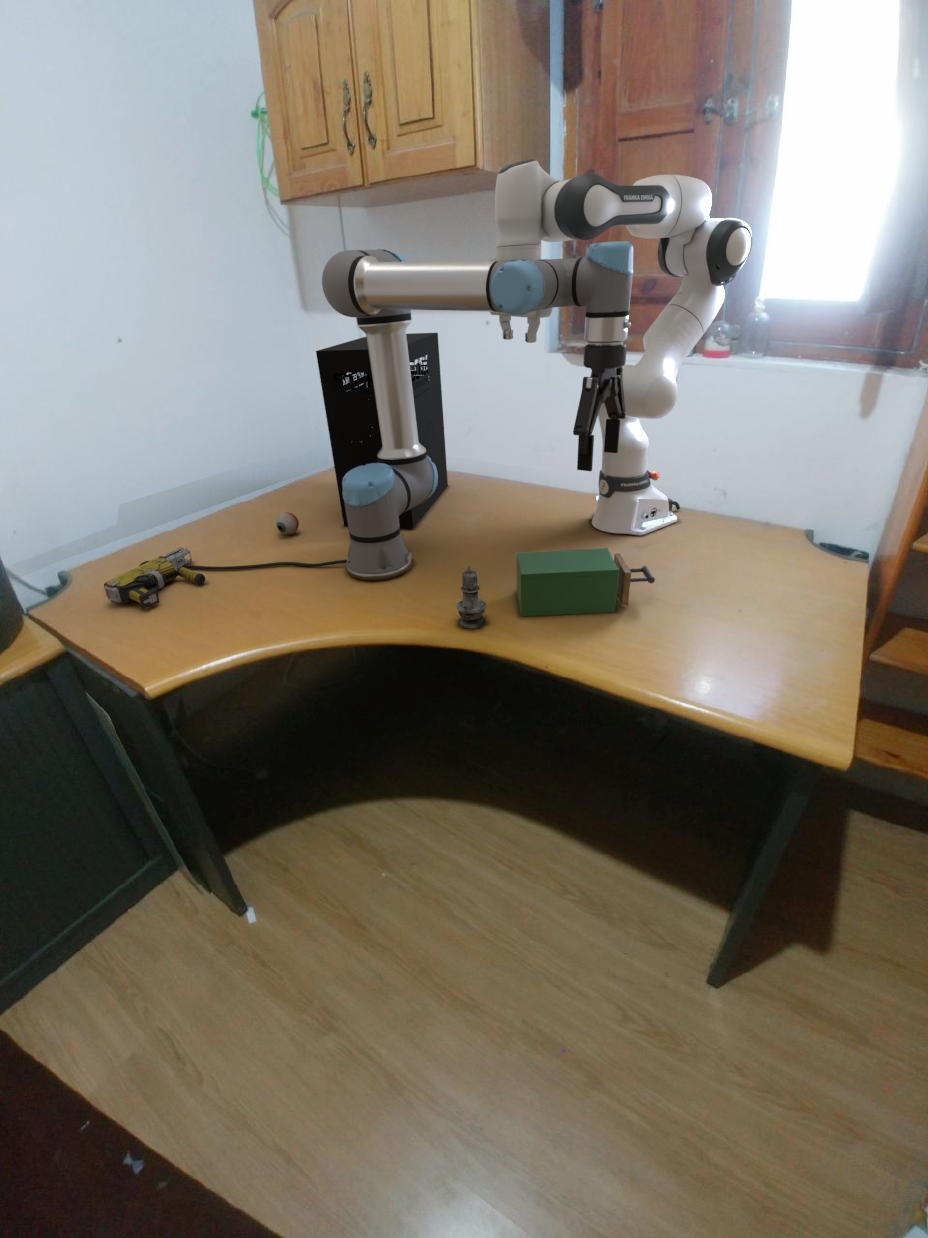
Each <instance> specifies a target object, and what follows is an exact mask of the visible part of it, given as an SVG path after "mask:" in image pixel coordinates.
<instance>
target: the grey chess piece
mask: <svg viewBox="0 0 928 1238" xmlns="http://www.w3.org/2000/svg"><path fill="white" fill-rule="evenodd" d="M461 583H462V586H461V587H460V590H461V592H462V600H459V602H457V603H456V604H455V608H456V610H457V612H458V614H459V616H460V618H459V619H458V624H459V626H460V627H462V628H464V629H478V628H480V627H482V626H484V625H485V623H486V618H485V617H484V616H483V615H484V613H485V611H486V610H485V609H486V608H487V603H486V602H485V601H484V600H482V599H480V597H479V596H480V595H479V591H480V589H481V587H480V586H479V585H478V583H479V582H478V573H477V571H475V570H473V569H472V568H471V566H469V565H468V567H467V569H466V570H464V571H463V572H462V574H461Z"/></svg>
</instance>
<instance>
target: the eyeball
mask: <svg viewBox="0 0 928 1238" xmlns="http://www.w3.org/2000/svg"><path fill="white" fill-rule="evenodd" d="M299 525H300V522H299V519H298V517H297V516H296V515H295V514H294V513H292V512H287V511H286V512H282V513H280V514H279V515H278V516H277V517H276V520H275V527H276V529H277V530H278V531H279V532H280V533H281V534H282V535H285V536H286V535H287V536H289V535H293V534H295V533H296V532H297V531H298V529H299Z"/></svg>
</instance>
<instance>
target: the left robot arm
mask: <svg viewBox="0 0 928 1238" xmlns="http://www.w3.org/2000/svg"><path fill="white" fill-rule="evenodd" d="M321 275H322V276H321V286H322V291H323V294H324V297H325V299H326V300H327V302H328V304H329V305H330V307H331V308H333V310H335V312H337V313H338V314H340V315H342V316H345V317H349V318H356V324H357V327H358V328H359V329H360V330H361V331H362V332H363V333H364V334H365V337H367V344H368V351H369V358H370V365H371V372H372V378H373V385H374V392H375V399H376V406H377V413H378V420H379V427H380V433H381V440H382V448H381V449H380V451H379V452H378V453H377V458H378V463H370V464H366V465H365V466H362V465H361V466H358V467H356V468H354V469H352V470H350V471H349V472H348V473H346V475H345V476H344V478H343V481H342V487H343V499H344V504H345V510H346V516H347V522H348V526H347V528H348V532H349V540H350V541H349V547H348V553H347V558H346V559H341V560H340V559H339V560H331V561H325V562H318V563H317V562H316V563H307V562H297V561H278V562H277V561H275V562H267V563H259V564H247V565H230V566H229V565H226V566H209V565H196V564H195V565H192V564H186V565H185V564H184V565H183V566H182V567H184V568H187V569H191V570H192V569H193V570H206V571H207V570H209V571H229V570H230V571H231V570H232V571H233V570H245V569H247V570H249V569H259V568H269V567H277V566H278V567H279V566H296V567H297V566H298V567H306V568H319V567H326V566H330V565H331V566H333V565H340V564H346V572H347V574H348V575H349V576H350V577H352V578H354V579H356V580H359V581H366V582H379V581H387V580H391V579H394V578H397V577H401V576H402V575H404V574H406V573H407V572H408V571H409V570H410V569H411V567H412V564H413V563H412V551H410V552H409V550H408V548H407V545H406V544H405V541H404V539H403V536H402V534H401V528H400V524H399V515H401V514H403V513H404V512H406V511H408V510H410V509H411V508H413V507H415V506H417V505H420V504H422V503H423V502H425V501H426V500H427V499H428V498H429V497H430V496H431V495H432V494H433V493H434V491H435V489H436V487H437V483H438V473H437V469H436V466H435V464H434V463H432V461H431V459H430V457H428V456H427V454H426V448H425V447H423V446H422V445H421V444H420V443H419V441H418V432H417V424H416V415H415V406H414V398H413V389H412V380H411V372H410V371H411V370H410V365H411V362H410V363H409V354H408V346H407V337H406V334H407V329H408V327H409V326H410V324H411V323H412V322H413V320H412V312H411V311H412V310H413V311H414V310H415V311H417V310H418V311H423V310H424V311H455V312H456V311H457V312H489V313H490V312H504V313H507V314H512V315H522V314H526V313H529V312H532V311H536V310H542V309H548V308H552V309H553V308H567V307H568V308H569V307H585V318H584V334H583V335H584V336H583V337H584V338H583V341H584V342H586V344H585V346H583V366H584V367H585V368H586V369H590V370H591V372H590V376H591V377H590V376H583V378H582V385H581V386H582V387H581V393H580V398H579V402H578V407H577V411H576V416H575V420H574V425H573V430H572V434H573V435H574V436H578V439H577V441H578V442H577V464H576V465H577V466H576V471H583V472H592V471H593V461H594V442H595V435H594V434H593V432H594V429H595V426H596V422H597V419H598V413H599V410H600V407H601V404H602V403H605V407H606V410H607V414H608V417H609V418H610V419H606V429H605V444H604V452H608V453H618V445H619V432H620V420H619V419H625V416H626V413H625V400H624V389H623V379H622V378H623V367H622V366H624V365H625V364H626V361H627V350H628V346H627V344H626V343H625V341H627V339H628V334H629V332H628V331H629V329H630V328H631V326H632V323H631V321H629V319H630V306H631V295H632V287H633V275H634V245H633V244H632V242H630V241H627V240H623V241H620V240H619V241H604V242H595V243H594V242H593V243H591V244H590V245H589V246H588V252H587V255H586V256H583V257H577V258H576V257H575V258H574V257H573V258H552V259H551V258H549V259H548V258H543V259H542V258H541V259H539V260H512V261H490V260H442V261H441V260H440V261H438V260H437V261H434V260H433V261H409V260H408V259H407V258H406V257H405V256H404V255H403V254H402V253H400V252H397V251H394V250H388V249H385V248H383V249H382V248H378V249H345V250H342V251H339V252H337V253H336V254H334V255H332V257H330V258H329V259H328V261H327V262H326V264H325V266H324V268H323V271H322V274H321ZM620 406H621V407H620ZM149 561H150V560H145V561H143V562H141V563H140V564H139V565H138V567H139V566H141V565H143V564H145V563H147V562H149ZM182 567H181V568H182Z"/></svg>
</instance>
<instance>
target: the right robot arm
mask: <svg viewBox="0 0 928 1238" xmlns="http://www.w3.org/2000/svg"><path fill="white" fill-rule="evenodd" d="M712 202H713V201H712V192H711V189H710V186H709V185H708V184H707V183H706V182H705V181H704V180H702V179H700V178H696V177H692V176H688V175H683V174H658V175H651V176H647V177H644V178H641V179H639V180H636V181H634V183H633V184H632V185H628V184H627V185H625V184H624V185H618V184H615V183H613V182H611V181H609V180H608V179H606V178H605V177H603V176H602V175H600V174H598V173H594V172H585V173H582V174H579V175H577V176H575V177H572V178H569V179H568V178H567V179H565V180H564V179H563V180H560V179H557V178H555V177H554V176H552V175H551V174H549V173H547V172H546V170H545V169H543V168H542V167H541V165H540V164H539V161H538V160H537V159H534V158H529V159H524V160H520V161H517V162H514V163H510V164H507V165H505V166H503V167H501V169H500V170H499V171H498V173H497V176H496V182H495V191H494V222H495V226H496V232H497V233H496V234H497V235H496V242H495V254H494V255H493V256H492V257H491V258H490V259H489V261H512V260H539V259H542V241H543V242H547V243H559V242H560V243H561V242H567V241H568V242H569V241H589V240H593V239H596V238H597V237H599V236H600V235H602V234H603V233H604V232H606V231H608V230H609V229H610V228H613V227H624V226H625V227H626V230H627V231H628V233H629V234H630V235H631V236H633V237H635V238H641V239H649V240H651V239H654V240H657V239H659V241H658V245H657V263H658V266H659V268H660V270H661V271H662V272H663V273H664V274H666V275H668V276H670V277H674V278H680V277H682V281H681V284H680V287H679V289H678V290H677V293H676V294H675V295H674V296H673V297H672V298H671V299H670V300H669V302H668V303H667V304H666V306H664V308H663V309H662V311H661V312H660V313H659V314H658V316H657V317H656V319H655V320H653V322H652V323H651V324H650V326H649V327H648V329H647V330H646V332H644V335H643V338H642V345H643V350H644V352H643V354H642V357H641V358H640V360H639V361H638V362H637V363H635V364H634V365H633V364H626V363H625V365H624V366H622V367H623V378H622V379H623V389H624V400H625V413H626V416H625V419H619V420H620V432H619V445H618V453H608V452H604V444H605V429H606V419H610V418H609V417H608V414H607V410H606V407H605V403H602V404H601V407H600V410H599V413H598V416H597V419H598V422H599V427H600V432H601V440H602V447H601V448H602V449H601V450H602V451H601V468H600V470H599V474H598V492H599V493H598V495H596V501H597V502H596V507H595V511H594V514H593V517H592V520H591V525H592V526H593V527H594V528H595V529H597V530H599V531H601V532H605V533H611V534H623V535H625V534H626V535H632V536H633V535H634V536H645V535H646V534H650V533H652V532H654V531H657V530H660V529H662V528H665V527H668V526H670V525H672V524H675V523H677V522H678V516H677V515H676V514H675V513H674V512H672V510H673V506H675V509H676V510H680V509H681V507H680V504H679V502H677V501H675V500H673V499H671V498H669V497H667V496H666V495H665V494H664V493H663V492H661V491H660V490H659V489H658V488H656V487H655V486H654V485H652V483H651V480H653V481H658V479H659V478H660V473H659V472H657V471H654V470H651V471H649V470H648V469H647V466H648V458H649V457H648V455H649V446H650V441H649V437H648V435H647V434H646V432H645V431H644V429H643V427H642V424H641V421H640V420H656V419H662V418H664V417H666V416H667V415H669V413H670V412H671V411H672V410H673V408H675V405H676V402H677V400H678V396H679V387H678V383H677V377H678V374H679V371H680V369H681V366H682V365H683V363H684V361H685V360H686V359H687V357H688V356H689V354H690V353H691V352H692V350H693V349H694V348H695V346H696V345H697V344H698V342H699V341H700V340H701V338H702V337H703V336H704V335H705V334H706V332H707V330H708V329H709V328H710V326H711V325H712V323H713V322H714V320H715V318H716V317H717V315H718V313H719V311H720V309H721V307H722V306H723V304H724V301H725V295H726V294H725V289H724V286H726V285H728V284H729V283H731V282H732V281H733V280H735V278H736V276H737V274H738V272H740V271H741V269H742V268H743V266H744V265H745V263H746V261H747V260H748V258H749V256H750V253H751V251H752V246H753V233H752V229H751V227H750V225H749V224H748V223H747V222H745V220H741V219H739V218H733V217H727V218H711V216H710V212H711V207H712ZM552 312H553V308H548V309H542V310H536V311H532V312H529V313H526V314H522V315H512V314H507V313H504V312H490V311H489V313H490V315H492V316H498V322H499V325H500V327H501V331H502V339H503V340H505V341H509V340H513V339H514V329H512V324H511V321H512V317H516V318H527V319H526V320H527V321H526V323H527V324H528V326H527V330H526V331H527V332H525V333H524V339H525V340H524V341H525V343H529V344H533V343H536V342H537V334H538V330H539V328H540V325H541V318H542V319H543V318H550V317H551V315H552ZM589 377H591V375H590V376H589ZM620 407H621V406H620Z"/></svg>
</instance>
